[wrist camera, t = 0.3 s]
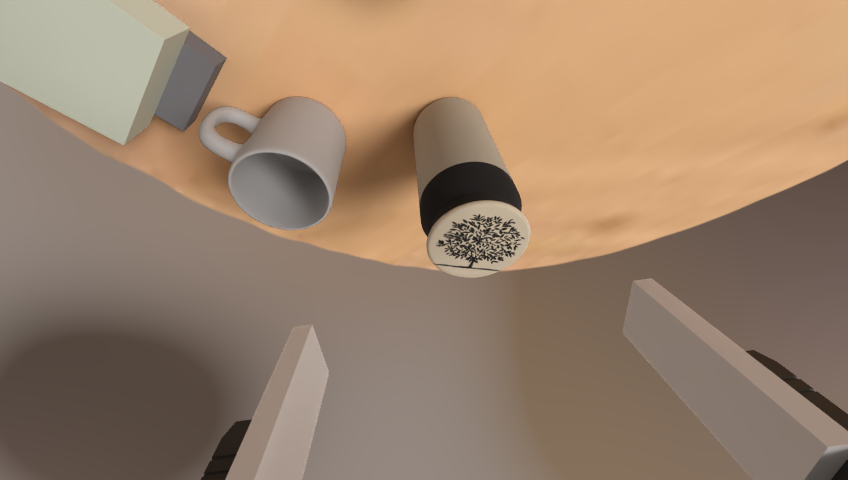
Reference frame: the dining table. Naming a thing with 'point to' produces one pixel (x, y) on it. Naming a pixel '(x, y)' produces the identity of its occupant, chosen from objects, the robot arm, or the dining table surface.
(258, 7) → the dining table surface
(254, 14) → the dining table surface
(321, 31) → the dining table surface
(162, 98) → the mat
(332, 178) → the mug
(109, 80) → the lid
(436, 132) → the travel mug
